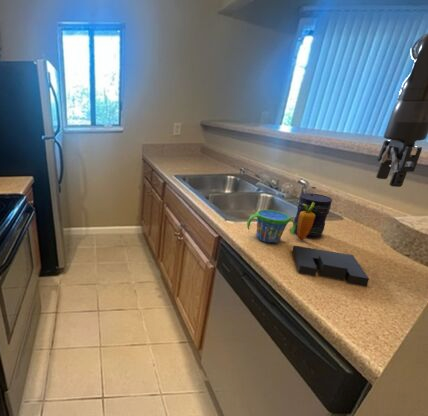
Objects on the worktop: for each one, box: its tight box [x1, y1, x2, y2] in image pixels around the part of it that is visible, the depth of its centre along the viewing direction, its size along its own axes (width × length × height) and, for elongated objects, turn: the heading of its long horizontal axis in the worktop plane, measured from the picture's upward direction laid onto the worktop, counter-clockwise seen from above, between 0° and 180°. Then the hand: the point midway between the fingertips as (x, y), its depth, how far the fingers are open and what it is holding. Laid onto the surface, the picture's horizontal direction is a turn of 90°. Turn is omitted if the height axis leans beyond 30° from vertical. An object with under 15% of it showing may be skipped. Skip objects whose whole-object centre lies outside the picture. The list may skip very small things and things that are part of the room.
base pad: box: [291, 245, 370, 287], centre depth 86 cm, size 16×14×2 cm
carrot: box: [297, 202, 315, 241], centre depth 100 cm, size 5×5×15 cm
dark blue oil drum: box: [293, 186, 333, 240], centre depth 105 cm, size 10×10×18 cm
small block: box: [316, 256, 348, 281], centre depth 82 cm, size 6×6×4 cm
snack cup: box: [246, 209, 296, 244], centre depth 102 cm, size 16×10×10 cm
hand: (387, 182), depth 74 cm, fingers open, 8 cm apart
